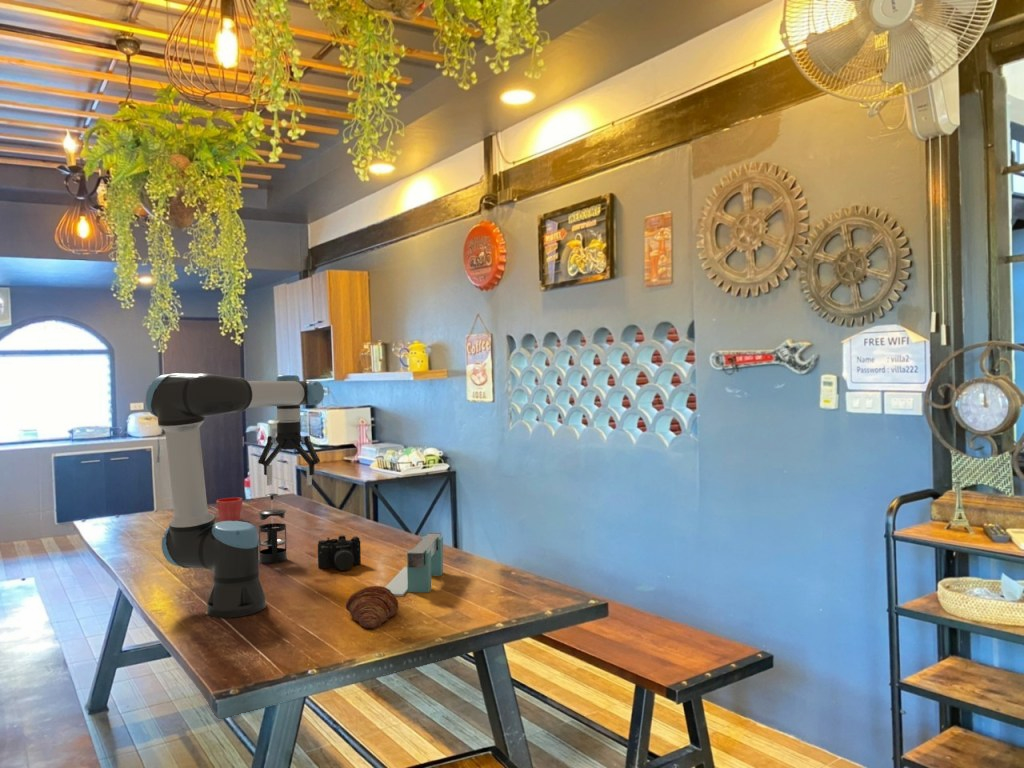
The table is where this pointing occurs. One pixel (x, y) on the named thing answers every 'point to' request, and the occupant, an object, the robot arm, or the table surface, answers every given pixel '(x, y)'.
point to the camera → (339, 553)
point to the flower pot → (229, 509)
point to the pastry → (372, 606)
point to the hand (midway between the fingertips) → (289, 485)
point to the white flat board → (399, 583)
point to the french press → (272, 537)
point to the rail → (423, 550)
